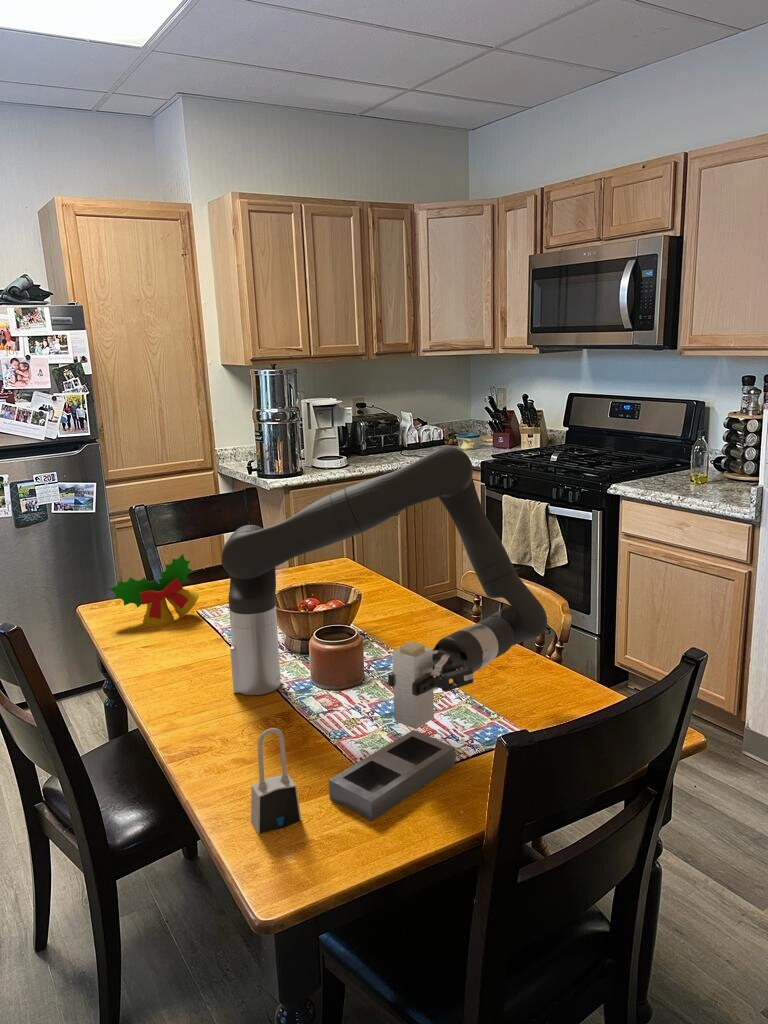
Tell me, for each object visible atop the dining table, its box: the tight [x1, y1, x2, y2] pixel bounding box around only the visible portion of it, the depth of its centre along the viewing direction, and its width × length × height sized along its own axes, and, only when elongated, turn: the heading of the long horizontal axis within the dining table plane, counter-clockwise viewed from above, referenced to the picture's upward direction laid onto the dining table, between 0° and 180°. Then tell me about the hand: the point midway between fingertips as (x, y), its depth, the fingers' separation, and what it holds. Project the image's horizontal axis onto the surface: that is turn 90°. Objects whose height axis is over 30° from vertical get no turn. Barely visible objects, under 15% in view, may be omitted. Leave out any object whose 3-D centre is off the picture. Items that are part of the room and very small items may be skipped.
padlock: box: [250, 727, 302, 835], centre depth 114 cm, size 7×4×15 cm, turn 117°
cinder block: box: [328, 729, 456, 822], centre depth 124 cm, size 20×9×3 cm, turn 137°
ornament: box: [108, 553, 200, 628], centre depth 196 cm, size 21×8×15 cm, turn 108°
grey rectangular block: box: [391, 640, 435, 730], centre depth 125 cm, size 4×4×13 cm
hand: (402, 685), depth 123 cm, fingers closed on grey rectangular block, 4 cm apart
